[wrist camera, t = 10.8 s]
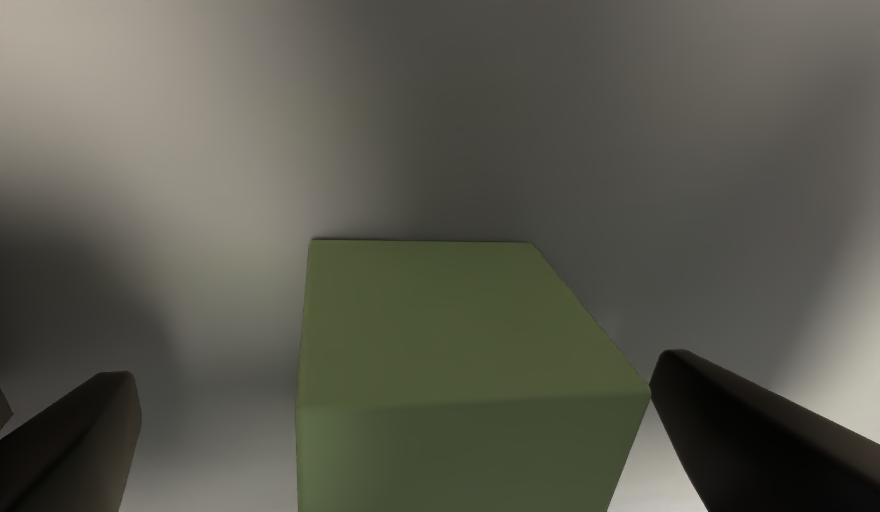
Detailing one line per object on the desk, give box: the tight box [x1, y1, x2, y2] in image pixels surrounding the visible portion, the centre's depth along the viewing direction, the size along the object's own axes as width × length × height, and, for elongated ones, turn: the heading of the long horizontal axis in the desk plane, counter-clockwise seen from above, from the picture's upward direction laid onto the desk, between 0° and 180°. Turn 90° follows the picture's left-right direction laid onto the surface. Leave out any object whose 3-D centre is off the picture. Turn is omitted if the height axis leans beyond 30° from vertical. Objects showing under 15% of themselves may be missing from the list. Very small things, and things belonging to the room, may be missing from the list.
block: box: [295, 240, 651, 512], centre depth 8 cm, size 4×4×4 cm
